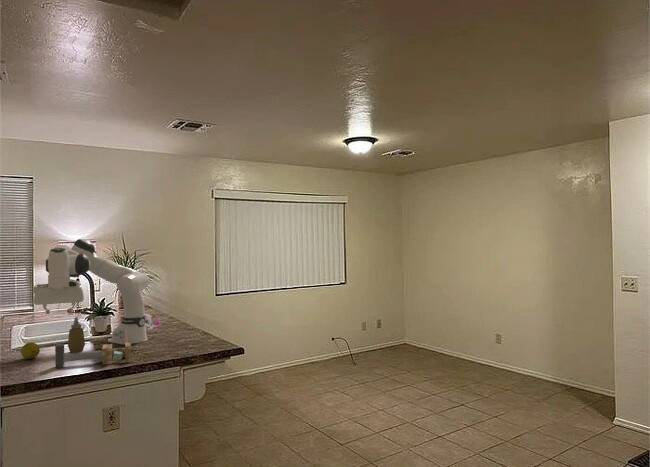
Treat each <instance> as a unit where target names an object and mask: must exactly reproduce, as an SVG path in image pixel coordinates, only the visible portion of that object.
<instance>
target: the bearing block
mask: <svg viewBox="0 0 650 467" xmlns="http://www.w3.org/2000/svg"><path fill="white" fill-rule="evenodd" d="M124 345H125V347H119V348H113V343H109V344H106V343H105V344H103V345H102V348H101V350H102V358H101V359H102V360H101V361H102V364H105V365H113V364H112V363H115V364H122V363H130V362H132V343H131V342H128V343H125V344H124ZM114 351H118V352H123V356H122V358H124V359H121V360H115V361H112V357H113V354H114ZM102 364H101V365H102Z"/></svg>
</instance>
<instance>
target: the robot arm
mask: <svg viewBox="0 0 650 467" xmlns="http://www.w3.org/2000/svg"><path fill="white" fill-rule="evenodd" d="M96 253H97V251H96V248H95V246H94V244H93V243H92V242H91V241H90V240H88V239H83V238H79V239H77V240H76V241H75V242H74V243H73V245H72V246H71V247H70V246H68V245H65V244H60V245H57V246H55V247H54V248H51V249H50V250H49V251H48V257H47V259H46V260H45V271H46V272H47V273H48V276H47V283H41V284H40V283H38V284H36V285H34V286H33V287H32V292H33V295H34V296H33V304H34V306H35V305H36V306H39V305H40V306H41V305H42V308H43V309H44V311H45V314H46V315H50V313H51V312H50V311H51V309H48V308H47V306H48V305H57V304H71V307H69V309H68V313H69V314H70V313H73V312H74V308H75V306H76V303H82V302H83V301H84V299H85V295H84V290H83V288H82V286H81V281H80V280H77V279H71V278H79V277H80V276H81V275H85V274H87V273H88V272H90V273H92V274H94V276H96V277H98V278H101V279H103V280H105V281H107V282H109V283H111V284H115V285H116V288H117V290H118V291H119V292H120V295H121V298H122V306H123V317H121V318H120V319H119V320H120V321H121V323H120V324H119V325H118V326H117V327H116V328H115V329H113V330H112V334H111V338H108V339H107V343H111V344H118V345H125V343H128V342H131V344H138V343H139V344H140V343H143V342H147V341H148V340H149V339H148V336H147V330H146V328H145V315H146V314H145V302H144V300H143V298H142V294H141V292H142V291H144V290H145V289H146V288H147V287H148V286H149V284H150V277H149V276H148V275H147V274H146V273H143V272H140V271H138V270H135V269H132V268H130V267H126V266H123V265H120V264H119V263H117V262H114V261H113V260H110V259H108V258H107V257H104V256H100V255H97V254H96ZM144 314H145V315H144Z"/></svg>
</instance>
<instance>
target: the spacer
mask: <svg viewBox="0 0 650 467" xmlns="http://www.w3.org/2000/svg"><path fill="white" fill-rule="evenodd" d="M122 356H123V352H118V351H114V354H113V357H112V361H115V360H123V359H122Z"/></svg>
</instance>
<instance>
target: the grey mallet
mask: <svg viewBox="0 0 650 467" xmlns="http://www.w3.org/2000/svg"><path fill="white" fill-rule="evenodd" d="M54 351H55V353H54V354H55V362H54V363H55V369H61V368H64V366H65V363H68V362H76V361H87V360H98V359H102V349H101V350H91V351H82V352H79V353H65V343H57V344H55V347H54Z"/></svg>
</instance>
